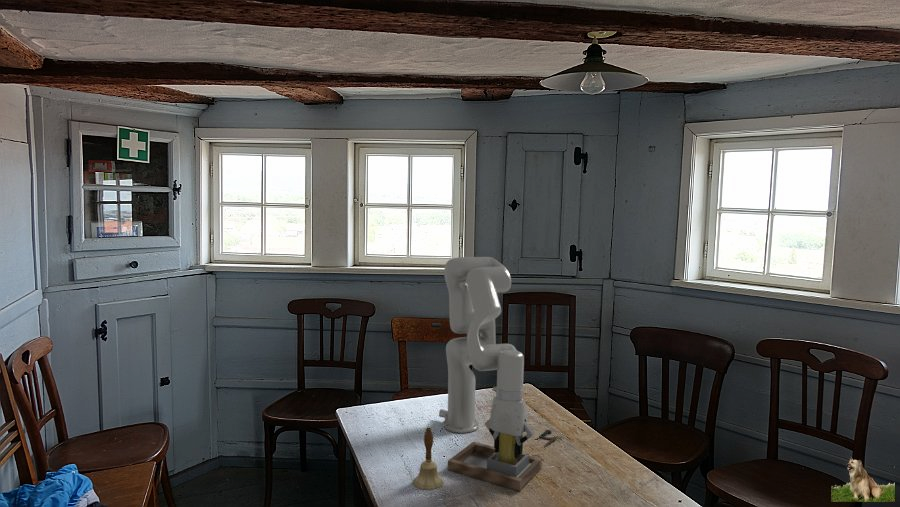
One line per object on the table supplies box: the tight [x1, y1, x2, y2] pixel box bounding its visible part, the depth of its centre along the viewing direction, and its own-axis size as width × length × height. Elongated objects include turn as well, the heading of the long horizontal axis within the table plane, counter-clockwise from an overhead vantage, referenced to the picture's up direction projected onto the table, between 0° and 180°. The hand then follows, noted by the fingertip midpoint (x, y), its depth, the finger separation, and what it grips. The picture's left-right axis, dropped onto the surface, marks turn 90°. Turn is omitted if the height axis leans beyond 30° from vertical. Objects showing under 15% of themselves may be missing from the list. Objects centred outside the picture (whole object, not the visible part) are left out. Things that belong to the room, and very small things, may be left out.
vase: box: [498, 433, 518, 465], centre depth 167 cm, size 6×6×14 cm
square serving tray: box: [485, 452, 531, 477], centre depth 167 cm, size 11×12×4 cm
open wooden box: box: [447, 441, 543, 492], centre depth 169 cm, size 23×16×3 cm
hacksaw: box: [534, 429, 563, 449], centre depth 186 cm, size 24×10×2 cm, turn 144°
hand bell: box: [413, 427, 444, 491], centre depth 161 cm, size 8×8×16 cm
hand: (508, 453), depth 167 cm, fingers closed on vase, 5 cm apart
